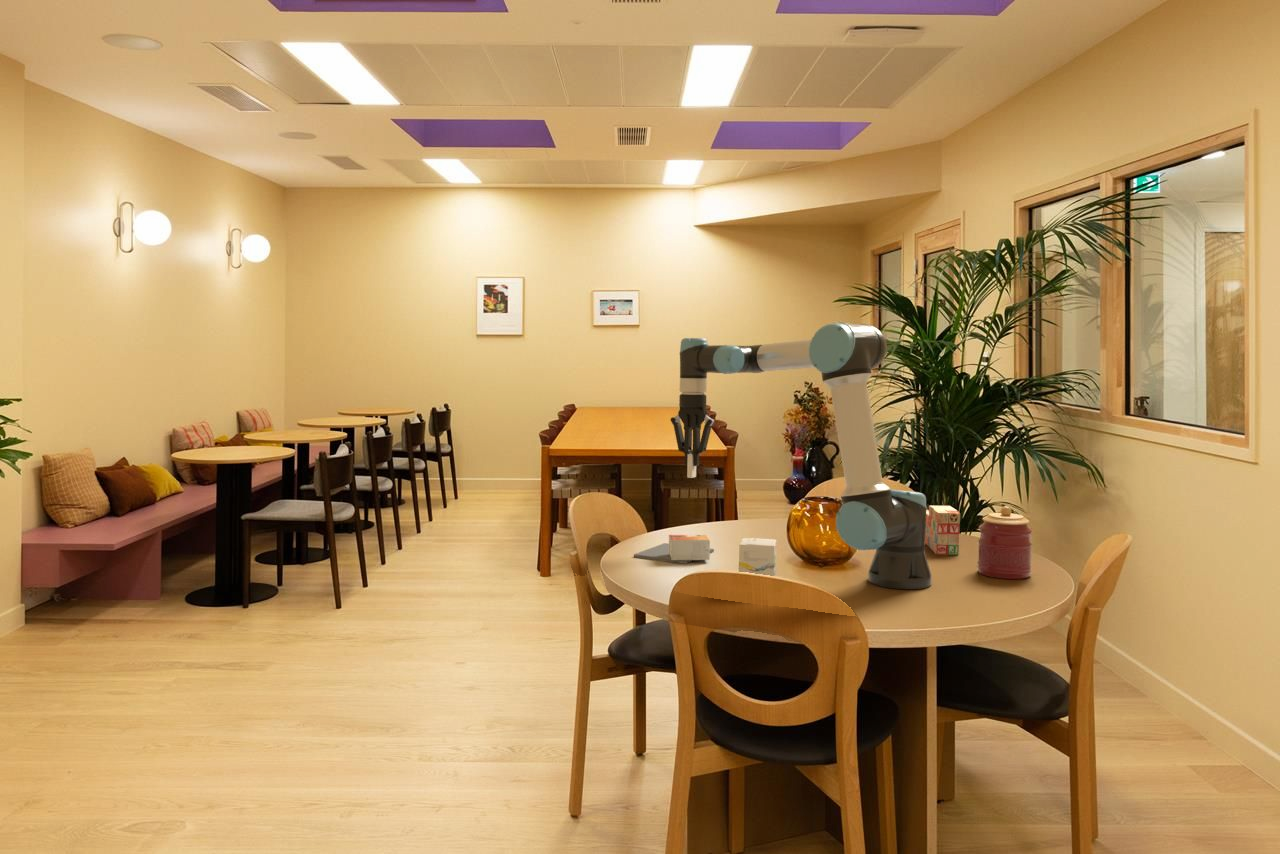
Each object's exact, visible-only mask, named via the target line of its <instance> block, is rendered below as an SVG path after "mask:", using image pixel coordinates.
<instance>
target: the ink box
mask: <svg viewBox="0 0 1280 854" xmlns="http://www.w3.org/2000/svg"><path fill="white" fill-rule="evenodd" d="M738 552H739V553H738V573H739V572H749V573H755V574H763V575H770V576H776V575H777V569H776V568H777V539H776V538H775V539H772V538H757V537H749V538H748V537H747V538H745V537H743V538H742V539H741V541H740V543H739V551H738Z"/></svg>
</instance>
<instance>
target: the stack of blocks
mask: <svg viewBox="0 0 1280 854" xmlns="http://www.w3.org/2000/svg"><path fill="white" fill-rule="evenodd" d="M960 522H961V513H960V511H958V510H957V509H955V508H954V507H952V506H951V505H929V506H928V510H926V533H925V545H927V546H928V547H929V549H931V550H932V552H934V554H935V555H941V556H943V555H944V556H945V555H946V556H947V555H948V556H959V551H960V549H959V548H960V545H959V543H960V534H961V533H960V527H961V524H960Z"/></svg>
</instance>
